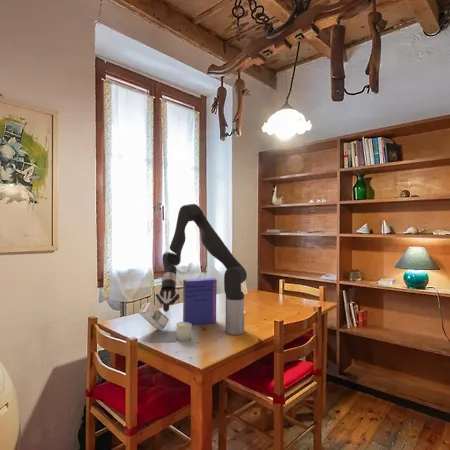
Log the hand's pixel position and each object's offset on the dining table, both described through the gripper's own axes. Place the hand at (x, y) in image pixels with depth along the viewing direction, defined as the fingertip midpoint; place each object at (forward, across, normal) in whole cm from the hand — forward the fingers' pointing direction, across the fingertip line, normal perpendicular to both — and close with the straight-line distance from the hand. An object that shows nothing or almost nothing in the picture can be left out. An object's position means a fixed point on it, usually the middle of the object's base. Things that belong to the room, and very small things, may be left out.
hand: (165, 311), depth 174 cm
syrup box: (+5, -1, +6) cm, 7 cm away
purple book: (-1, +17, +16) cm, 23 cm away
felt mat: (+14, +1, 0) cm, 14 cm away
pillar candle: (+16, +10, -2) cm, 19 cm away
